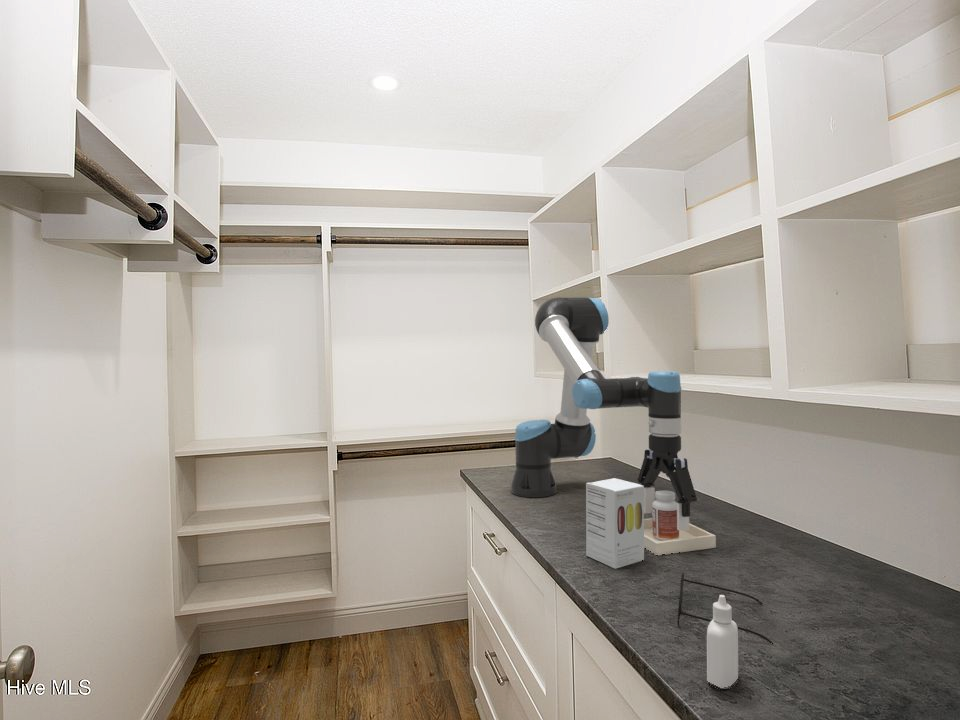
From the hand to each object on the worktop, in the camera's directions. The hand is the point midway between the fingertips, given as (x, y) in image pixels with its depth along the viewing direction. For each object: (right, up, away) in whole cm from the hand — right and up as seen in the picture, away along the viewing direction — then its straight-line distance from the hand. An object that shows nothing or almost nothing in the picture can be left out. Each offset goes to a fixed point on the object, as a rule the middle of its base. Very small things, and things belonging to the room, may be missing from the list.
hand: (665, 520), depth 130 cm
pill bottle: (0, -4, 0) cm, 4 cm away
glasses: (-3, -6, -37) cm, 38 cm away
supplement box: (-15, -5, -11) cm, 19 cm away
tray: (0, -5, 0) cm, 5 cm away
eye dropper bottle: (-11, -6, -55) cm, 57 cm away
